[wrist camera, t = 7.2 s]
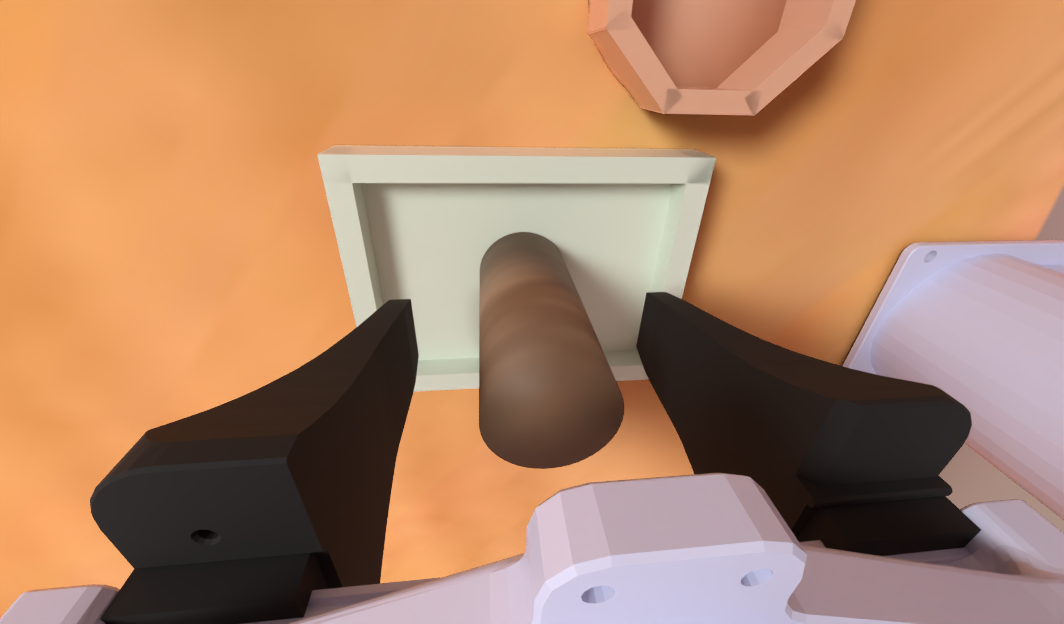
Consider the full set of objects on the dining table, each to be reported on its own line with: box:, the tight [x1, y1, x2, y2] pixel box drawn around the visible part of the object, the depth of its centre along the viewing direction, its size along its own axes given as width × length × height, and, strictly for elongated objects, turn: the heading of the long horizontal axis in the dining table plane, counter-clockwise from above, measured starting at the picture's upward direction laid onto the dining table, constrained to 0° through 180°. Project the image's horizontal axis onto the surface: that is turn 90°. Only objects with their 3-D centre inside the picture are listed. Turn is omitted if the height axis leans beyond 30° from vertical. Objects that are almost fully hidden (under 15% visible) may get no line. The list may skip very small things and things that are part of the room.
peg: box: [479, 232, 624, 469], centre depth 12 cm, size 3×3×8 cm
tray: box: [317, 145, 716, 392], centre depth 15 cm, size 12×9×2 cm
